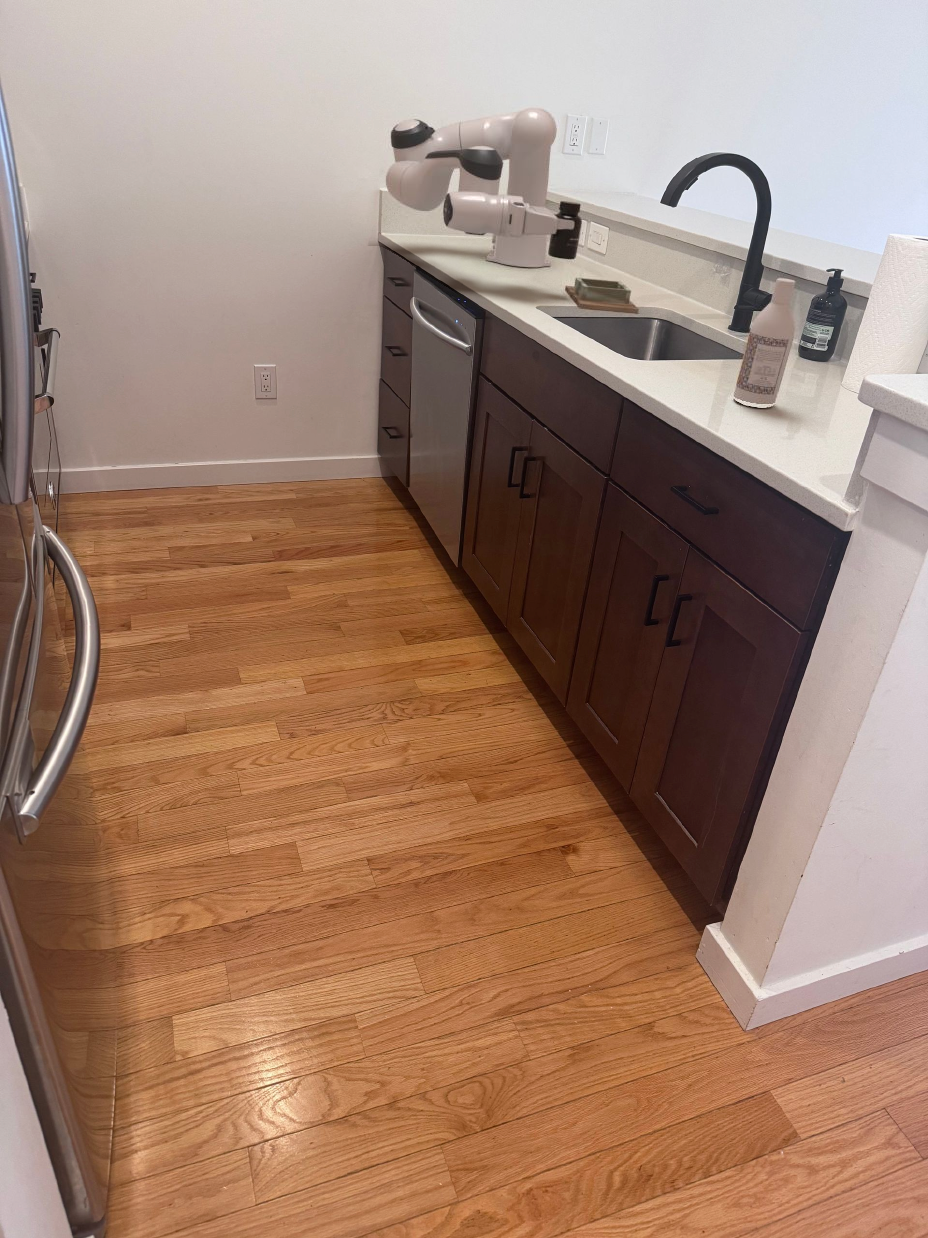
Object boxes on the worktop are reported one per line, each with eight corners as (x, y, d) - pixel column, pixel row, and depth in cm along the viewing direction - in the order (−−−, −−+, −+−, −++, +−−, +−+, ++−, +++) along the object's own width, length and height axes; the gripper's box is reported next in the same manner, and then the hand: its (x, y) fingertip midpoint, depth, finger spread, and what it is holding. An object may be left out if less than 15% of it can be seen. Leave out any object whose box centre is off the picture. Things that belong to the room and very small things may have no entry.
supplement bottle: (574, 260, 207) (583, 205, 201) (545, 256, 208) (554, 201, 202) (577, 257, 213) (586, 203, 207) (549, 253, 214) (557, 199, 207)
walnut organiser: (564, 289, 224) (567, 273, 222) (618, 294, 226) (621, 278, 224) (579, 308, 206) (582, 290, 204) (638, 313, 207) (641, 295, 205)
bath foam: (742, 394, 154) (774, 273, 143) (780, 404, 150) (815, 282, 140) (725, 401, 149) (756, 277, 139) (763, 412, 145) (798, 285, 135)
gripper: (507, 225, 216) (562, 230, 217) (515, 237, 198) (575, 243, 199) (510, 196, 212) (566, 202, 214) (519, 206, 195) (580, 212, 196)
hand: (571, 222), depth 206 cm, fingers closed on supplement bottle, 7 cm apart
